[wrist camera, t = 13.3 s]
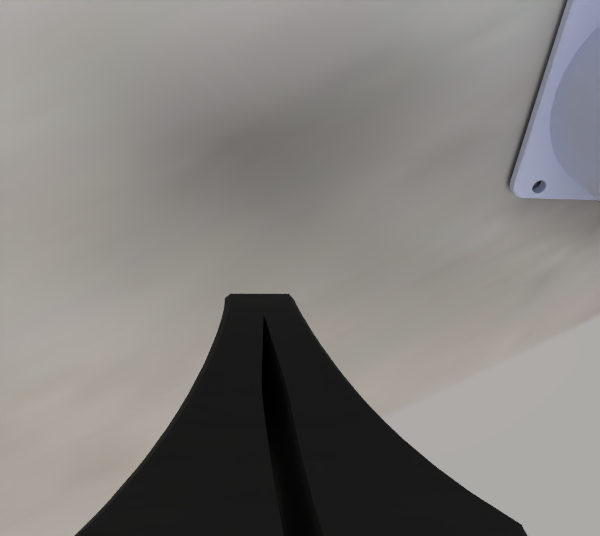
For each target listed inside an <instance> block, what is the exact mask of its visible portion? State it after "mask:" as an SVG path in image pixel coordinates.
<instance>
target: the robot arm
mask: <svg viewBox="0 0 600 536" xmlns="http://www.w3.org/2000/svg"><path fill="white" fill-rule="evenodd" d="M537 181H541V183H540V185H539V186H538V187H537V188H534V189H532V187H533V185H534V184H535V183H536V182H537ZM510 189H511V191H512V192H513V193H514V194H515V195H516V196H517V197H520V198H536V199H570V200H599V201H600V0H568V1H567V4H566V7H565V10H564V14H563V17H562V20H561V23H560V26H559V29H558V32H557V36H556V39H555V42H554V45H553V48H552V51H551V55H550V58H549V61H548V64H547V67H546V70H545V74H544V77H543V80H542V83H541V86H540V89H539V93H538V96H537V99H536V102H535V105H534V108H533V111H532V115H531V118H530V121H529V124H528V127H527V130H526V134H525V137H524V140H523V143H522V146H521V149H520V153H519V156H518V159H517V162H516V165H515V168H514V172H513V175H512V178H511V181H510ZM75 536H527V534H526V533H525V531H524V529H523V527H522V525H521V524H519V523H518V522H516V521H514V520H513V519H512V518H510V517H508V516H507V515H505V514H504V513H502V512H501V511H499V510H498V509H496V508H494V507H493V506H491V505H490V504H488V503H487V502H485V501H483V500H482V499H480V498H479V497H477V496H476V495H474V494H472V493H471V492H470V491H468V490H467V489H465V488H464V487H463V486H461V485H459V483H457V482H455V481H454V480H453V479H452V478H450V477H449V476H448V475H446V474H445V473H444V472H442V471H441V470H439V469H438V468H437V467H436V466H434V465H433V464H432V463H431V462H430V461H428V460H427V459H426V458H425V457H424V456H422V455H421V454H420V453H419V452H418V451H416V450H415V449H414V448H413V447H412V446H411V445H409V444H408V443H407V442H406V441H404V440H403V439H402V438H401V437H400V436H399V435H398V434H397V433H396V432H395V431H394V430H393V429H392V428H391V427H390V426H389V425H388V424H387V423H385V421H384V420H383V419H382V418H381V417H380V416H379V415H378V414H377V413H376V412H375V411H374V410H373V409H372V408H371V407H370V406H369V405H368V404H367V403H366V402H365V400H364V399H363V398H362V397H361V396H360V395H359V394H358V392H357V391H356V390H355V389H354V388H353V386H352V385H351V384H350V383H349V382H348V380H347V379H346V378H345V377H344V376H343V374H342V373H341V372H340V370H339V369H338V368H337V366H336V365H335V364H334V362H333V361H332V360H331V358H330V357H329V355H328V354H327V353H326V351H325V350H324V348H323V347H322V346H321V344H320V343H319V341H318V340H317V338H316V337H315V335H314V334H313V332H312V331H311V329H310V327H309V326H308V324H307V323H306V321H305V319H304V318H303V316H302V314H301V312H300V311H299V309H298V307H297V305H296V303H295V301H294V299H293V298H292V297H291V296H290V295H289V294H230V295H229V296H227V297H226V298H225V306H224V311H223V315H222V319H221V323H220V326H219V329H218V332H217V335H216V337H215V340H214V342H213V344H212V347H211V349H210V352H209V354H208V356H207V359H206V361H205V363H204V365H203V367H202V369H201V371H200V373H199V375H198V377H197V379H196V381H195V382H194V384H193V386H192V388H191V390H190V392H189V394H188V395H187V397H186V399H185V401H184V402H183V404H182V406H181V407H180V409H179V410H178V412H177V414H176V415H175V417H174V418H173V420H172V421H171V423H170V424H169V426H168V427H167V429H166V430H165V432H164V433H163V434H162V436H161V437H160V439H159V440H158V441H157V443H156V444H155V446H154V447H153V448H152V450H151V451H150V452H149V454H148V455H147V456H146V458H145V459H144V460H143V461H142V463H141V464H140V465H139V466H138V468H137V469H136V470H135V471H134V472H133V474H132V475H131V476H130V477H129V478H128V479H127V480H126V482H125V483H124V484H123V485H122V486H121V487H120V489H119V490H118V491H117V492H116V493H115V494H114V496H113V497H112V498H111V499H110V500H109V501H108V502H107V504H106V505H105V506H104V507H103V508H102V509H101V510H100V511H99V512H98V513H97V514H96V515H95V516H94V517H93V518H92V519H91V520H90V521H89V522H88V523H87V524H86V525H85V526H84V527H83V528H82V529H81V530H80V531H79V532H78V533H77V534H76V535H75Z"/></svg>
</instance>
